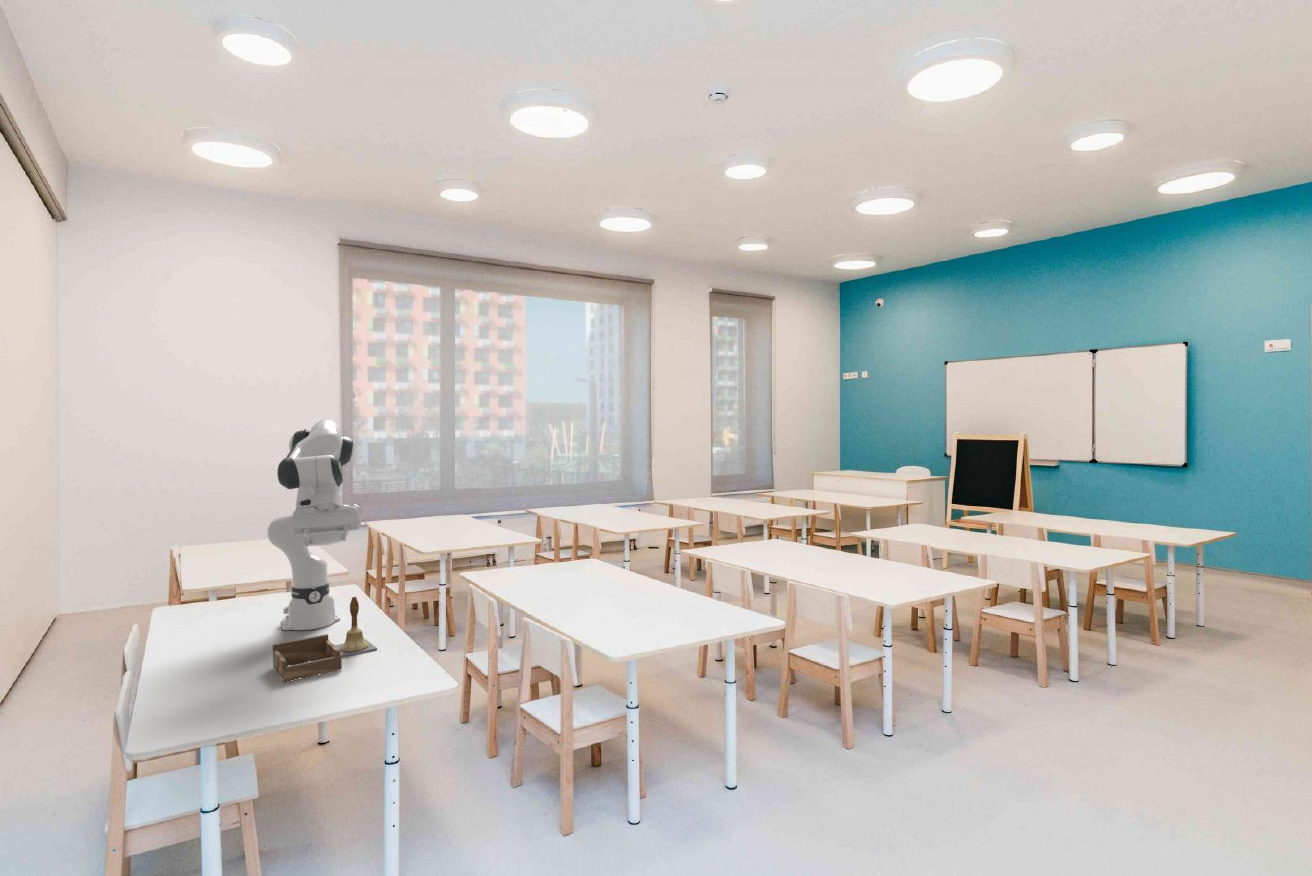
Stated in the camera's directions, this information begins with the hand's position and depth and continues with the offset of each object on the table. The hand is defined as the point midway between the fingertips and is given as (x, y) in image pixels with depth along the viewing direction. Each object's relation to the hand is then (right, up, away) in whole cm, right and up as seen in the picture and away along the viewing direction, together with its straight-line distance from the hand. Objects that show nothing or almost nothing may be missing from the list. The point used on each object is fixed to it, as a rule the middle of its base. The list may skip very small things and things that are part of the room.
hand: (326, 541), depth 223 cm
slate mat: (+7, -34, +1) cm, 35 cm away
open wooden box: (+2, -35, -16) cm, 39 cm away
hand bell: (+8, -34, +1) cm, 35 cm away
